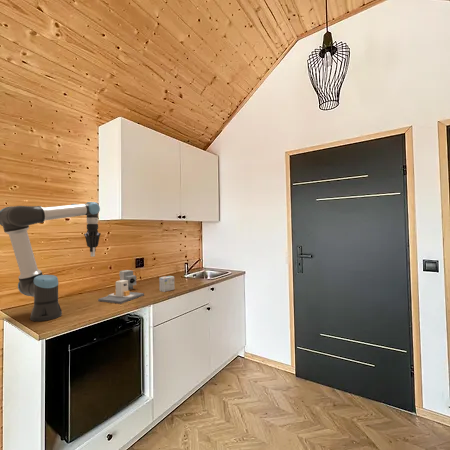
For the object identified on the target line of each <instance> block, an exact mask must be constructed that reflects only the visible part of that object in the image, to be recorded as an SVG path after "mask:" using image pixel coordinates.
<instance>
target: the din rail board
mask: <svg viewBox="0 0 450 450" xmlns="http://www.w3.org/2000/svg"><path fill="white" fill-rule="evenodd" d="M143 296H145V293H143V292H133V291H130V290H128V291H125V292H124V296H116V289H115V290H114V291H113V293H110V294H107V296H103V297H100V298H98V299H97V301H98V302H102V303H112V304H120V305H121V304H124V303H127V302H130V301H133V300H135V299H139V298H140V297H143Z"/></svg>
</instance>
